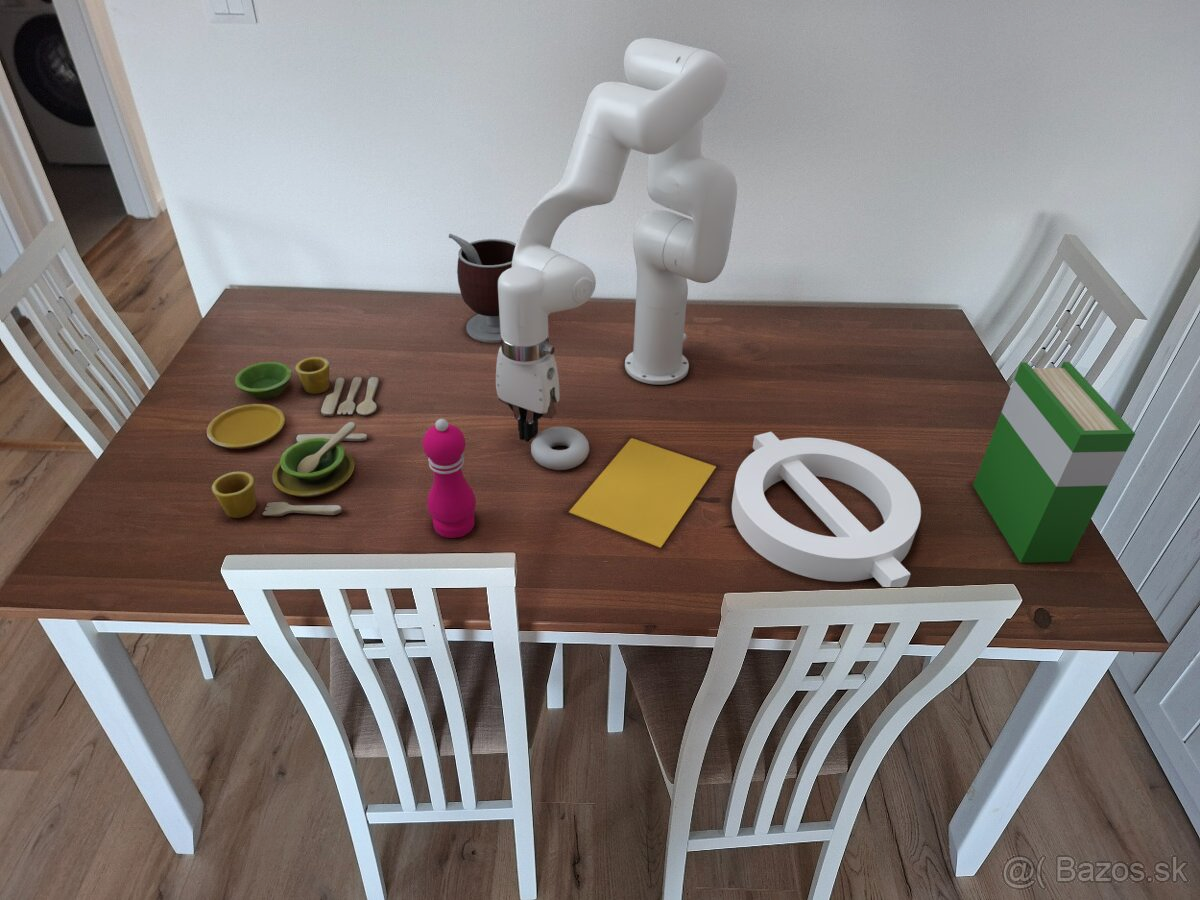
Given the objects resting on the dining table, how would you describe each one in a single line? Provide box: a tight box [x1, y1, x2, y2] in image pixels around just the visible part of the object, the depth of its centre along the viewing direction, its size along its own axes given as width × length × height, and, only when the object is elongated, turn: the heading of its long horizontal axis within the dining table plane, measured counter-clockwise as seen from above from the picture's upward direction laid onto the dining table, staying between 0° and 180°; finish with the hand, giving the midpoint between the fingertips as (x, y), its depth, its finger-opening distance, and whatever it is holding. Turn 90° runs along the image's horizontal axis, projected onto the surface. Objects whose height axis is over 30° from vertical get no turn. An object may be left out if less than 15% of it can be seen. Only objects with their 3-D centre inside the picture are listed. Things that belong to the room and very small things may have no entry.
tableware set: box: [206, 356, 380, 519], centre depth 141 cm, size 41×28×6 cm
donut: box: [530, 425, 590, 471], centre depth 141 cm, size 10×4×10 cm
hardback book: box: [972, 361, 1136, 564], centre depth 123 cm, size 18×7×24 cm, turn 3°
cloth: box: [568, 437, 717, 549], centre depth 135 cm, size 22×16×1 cm
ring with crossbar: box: [731, 431, 922, 588], centre depth 129 cm, size 28×28×5 cm
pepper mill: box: [422, 418, 477, 539], centre depth 122 cm, size 7×7×20 cm
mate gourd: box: [448, 233, 517, 344], centre depth 169 cm, size 16×14×20 cm
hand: (528, 436), depth 143 cm, fingers closed
